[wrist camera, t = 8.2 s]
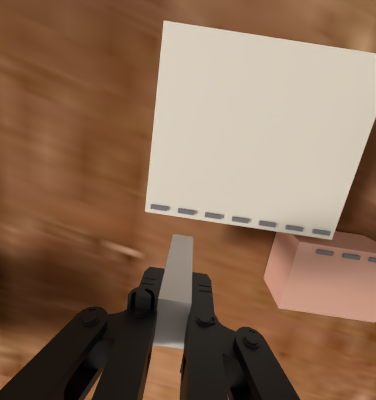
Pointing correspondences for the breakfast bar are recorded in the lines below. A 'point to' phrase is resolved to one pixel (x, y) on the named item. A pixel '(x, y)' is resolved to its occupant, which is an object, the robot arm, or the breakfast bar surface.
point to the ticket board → (258, 129)
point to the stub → (324, 275)
